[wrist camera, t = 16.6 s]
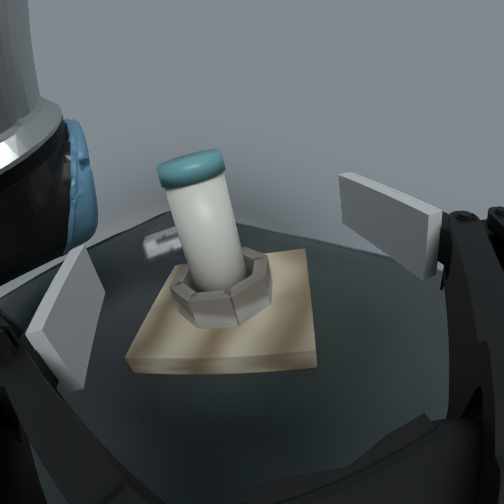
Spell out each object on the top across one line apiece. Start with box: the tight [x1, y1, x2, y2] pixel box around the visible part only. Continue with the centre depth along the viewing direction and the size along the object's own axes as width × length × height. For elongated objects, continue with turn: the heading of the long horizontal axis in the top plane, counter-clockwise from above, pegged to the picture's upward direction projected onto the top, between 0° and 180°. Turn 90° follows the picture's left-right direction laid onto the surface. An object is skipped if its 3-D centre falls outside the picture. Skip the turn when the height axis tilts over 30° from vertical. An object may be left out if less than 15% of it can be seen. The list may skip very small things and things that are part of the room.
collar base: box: [125, 247, 317, 374], centre depth 30 cm, size 16×16×5 cm
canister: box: [156, 149, 248, 293], centre depth 27 cm, size 5×5×14 cm
